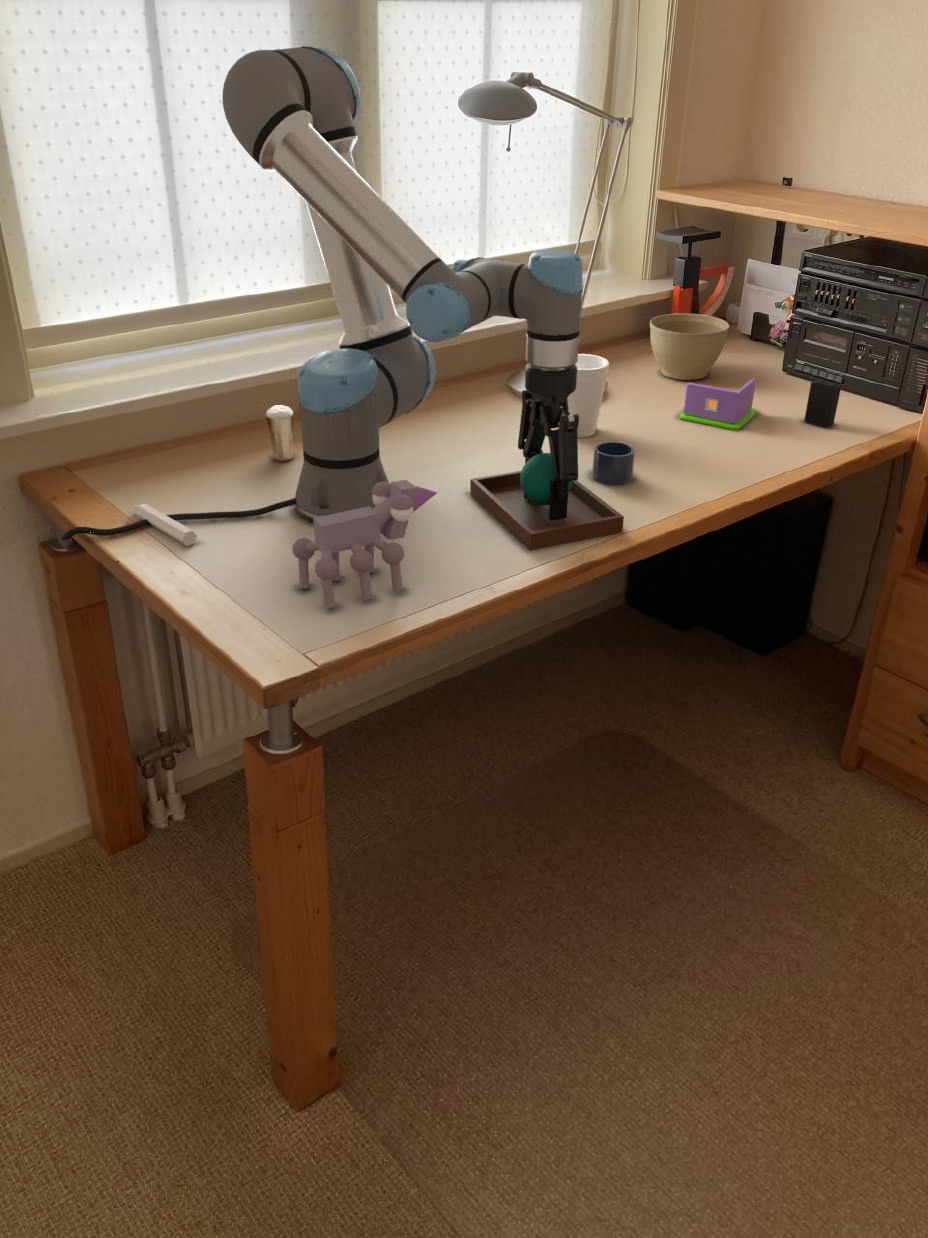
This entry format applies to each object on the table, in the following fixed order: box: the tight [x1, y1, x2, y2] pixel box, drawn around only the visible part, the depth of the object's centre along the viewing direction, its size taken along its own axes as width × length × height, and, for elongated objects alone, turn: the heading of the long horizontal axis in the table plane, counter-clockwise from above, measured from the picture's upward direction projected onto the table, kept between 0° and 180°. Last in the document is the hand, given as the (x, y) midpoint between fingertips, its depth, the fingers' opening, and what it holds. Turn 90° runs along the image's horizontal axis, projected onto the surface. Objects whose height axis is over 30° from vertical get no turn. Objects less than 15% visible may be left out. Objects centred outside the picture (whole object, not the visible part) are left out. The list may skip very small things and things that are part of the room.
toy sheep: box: [291, 479, 438, 609], centre depth 142 cm, size 20×11×14 cm, turn 119°
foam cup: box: [567, 353, 610, 438], centre depth 192 cm, size 10×9×13 cm
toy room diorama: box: [679, 378, 758, 431], centre depth 202 cm, size 12×12×7 cm
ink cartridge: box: [803, 379, 842, 429], centre depth 198 cm, size 5×2×8 cm, turn 44°
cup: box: [592, 441, 636, 486], centre depth 176 cm, size 7×7×5 cm
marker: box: [132, 502, 198, 547], centre depth 159 cm, size 3×2×16 cm
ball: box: [520, 452, 572, 505], centre depth 163 cm, size 8×8×8 cm
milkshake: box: [260, 404, 294, 462], centre depth 181 cm, size 5×5×10 cm
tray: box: [469, 470, 625, 551], centre depth 165 cm, size 16×22×3 cm
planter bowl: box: [649, 313, 730, 381], centre depth 222 cm, size 16×16×11 cm
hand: (544, 507), depth 165 cm, fingers closed on ball, 8 cm apart
